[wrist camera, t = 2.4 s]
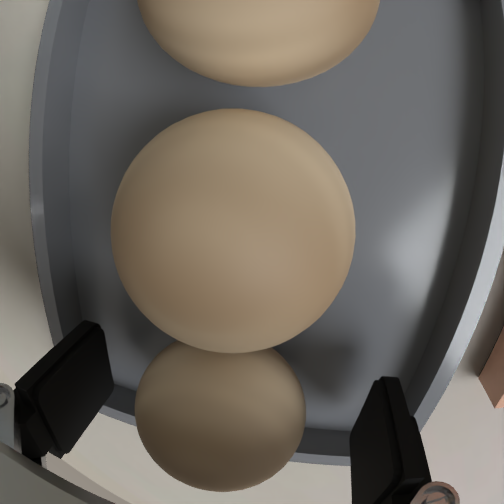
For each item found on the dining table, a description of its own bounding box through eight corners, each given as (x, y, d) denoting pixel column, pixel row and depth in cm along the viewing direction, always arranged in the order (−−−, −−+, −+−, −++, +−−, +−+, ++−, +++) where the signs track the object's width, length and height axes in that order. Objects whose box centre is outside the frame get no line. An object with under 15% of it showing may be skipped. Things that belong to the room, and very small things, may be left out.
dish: (95, -34, 7) (66, -51, 5) (485, -9, 6) (511, -28, 4) (91, 375, 14) (71, 400, 12) (390, 432, 12) (396, 465, 10)
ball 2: (174, 113, 8) (55, 100, 4) (353, 131, 8) (411, 117, 3) (168, 274, 10) (79, 367, 6) (324, 299, 10) (332, 426, 5)
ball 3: (168, 288, 10) (84, 384, 6) (321, 313, 10) (325, 442, 5) (173, 394, 12) (124, 488, 7) (294, 418, 12) (281, 527, 7)
